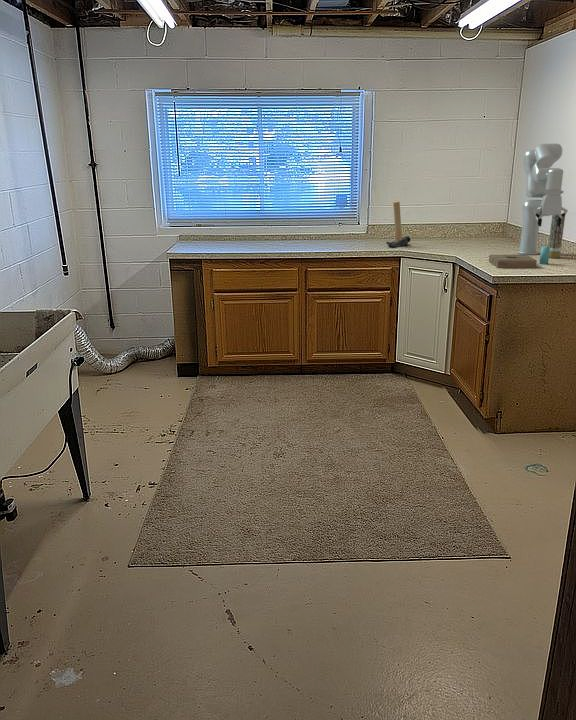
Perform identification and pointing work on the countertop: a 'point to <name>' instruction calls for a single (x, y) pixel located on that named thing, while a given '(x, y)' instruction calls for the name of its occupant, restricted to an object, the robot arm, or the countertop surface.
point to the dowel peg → (544, 255)
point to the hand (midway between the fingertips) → (548, 226)
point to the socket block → (512, 261)
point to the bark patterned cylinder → (555, 237)
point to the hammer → (398, 228)
